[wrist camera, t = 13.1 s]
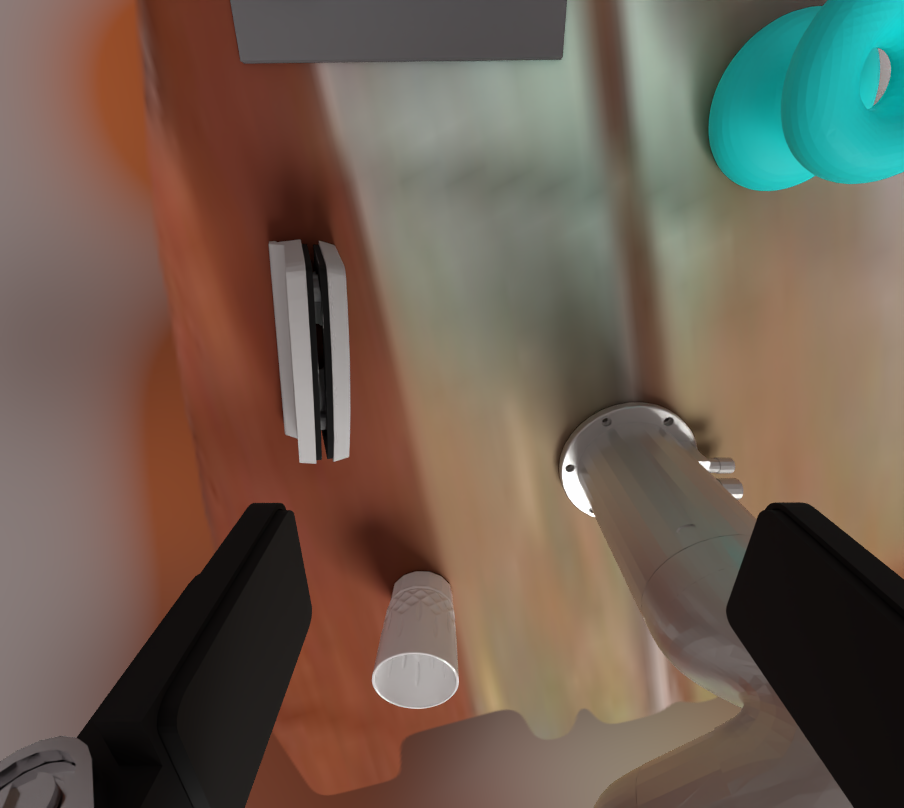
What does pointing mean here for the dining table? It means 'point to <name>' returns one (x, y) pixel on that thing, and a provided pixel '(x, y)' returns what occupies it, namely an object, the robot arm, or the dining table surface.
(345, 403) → the white slotted device
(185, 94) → the dining table surface
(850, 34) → the donuts
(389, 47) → the mat
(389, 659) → the white cup
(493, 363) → the dining table surface
